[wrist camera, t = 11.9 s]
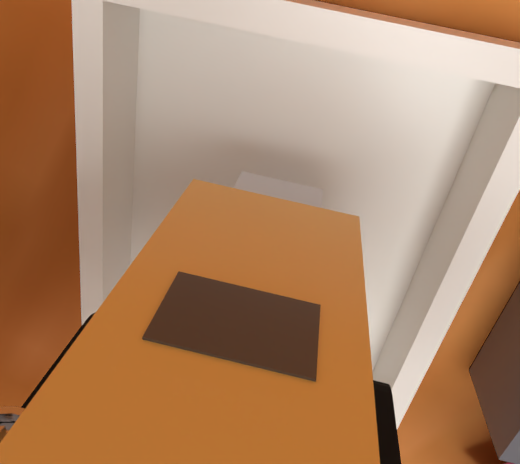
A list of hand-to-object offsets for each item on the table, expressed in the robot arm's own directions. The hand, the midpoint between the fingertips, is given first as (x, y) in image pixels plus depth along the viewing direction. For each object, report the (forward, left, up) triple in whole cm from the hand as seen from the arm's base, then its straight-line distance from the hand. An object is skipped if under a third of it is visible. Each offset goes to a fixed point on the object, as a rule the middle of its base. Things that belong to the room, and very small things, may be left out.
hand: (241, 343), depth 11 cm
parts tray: (0, 0, -7) cm, 7 cm away
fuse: (0, 0, -4) cm, 4 cm away
